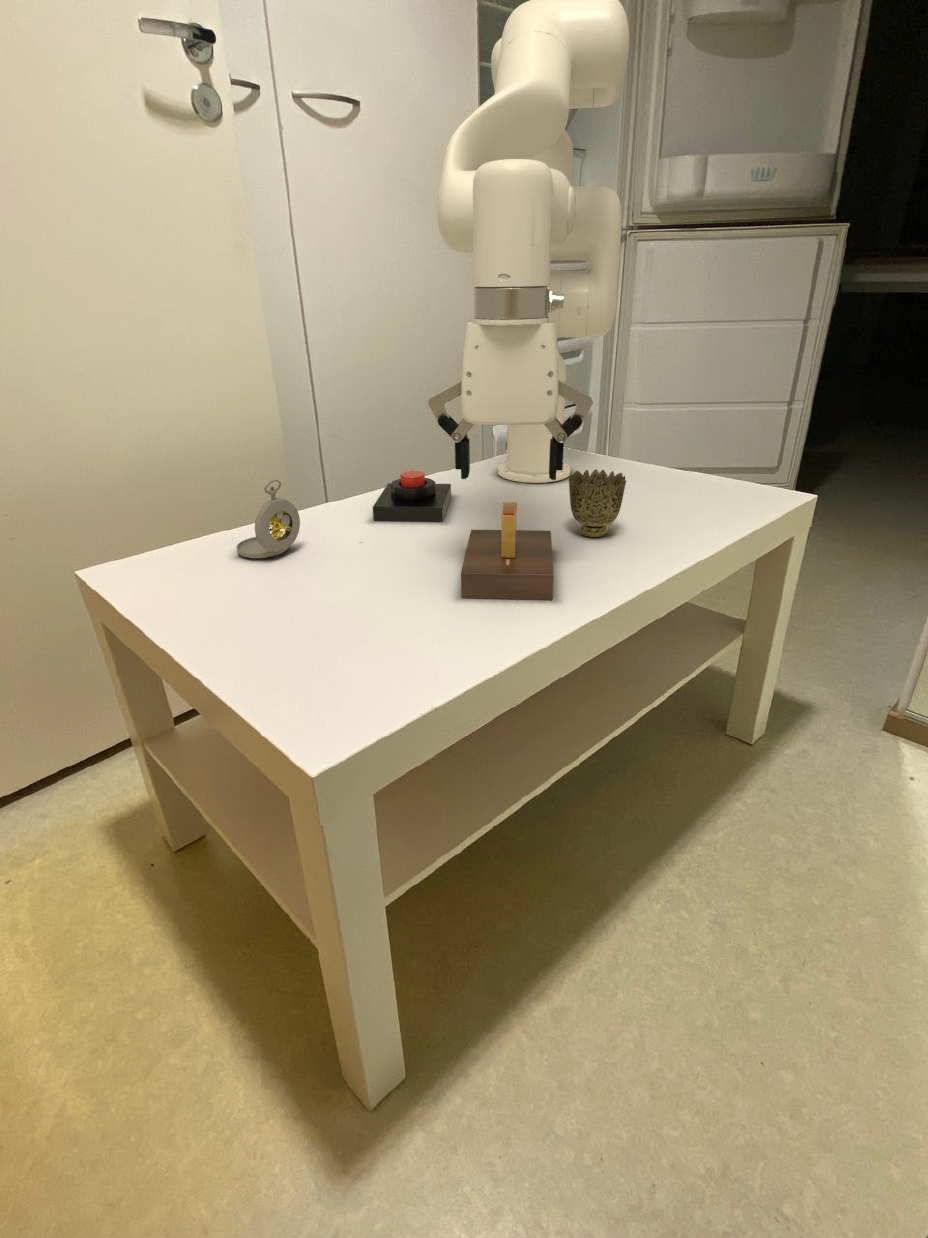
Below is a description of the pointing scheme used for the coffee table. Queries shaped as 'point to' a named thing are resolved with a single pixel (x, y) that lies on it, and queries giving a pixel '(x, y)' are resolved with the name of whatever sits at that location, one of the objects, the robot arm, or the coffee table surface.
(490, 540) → the plate
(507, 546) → the lock turn
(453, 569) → the coffee table surface
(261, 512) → the pocket watch
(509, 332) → the robot arm
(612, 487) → the cup
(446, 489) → the black button mount
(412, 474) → the bell button
